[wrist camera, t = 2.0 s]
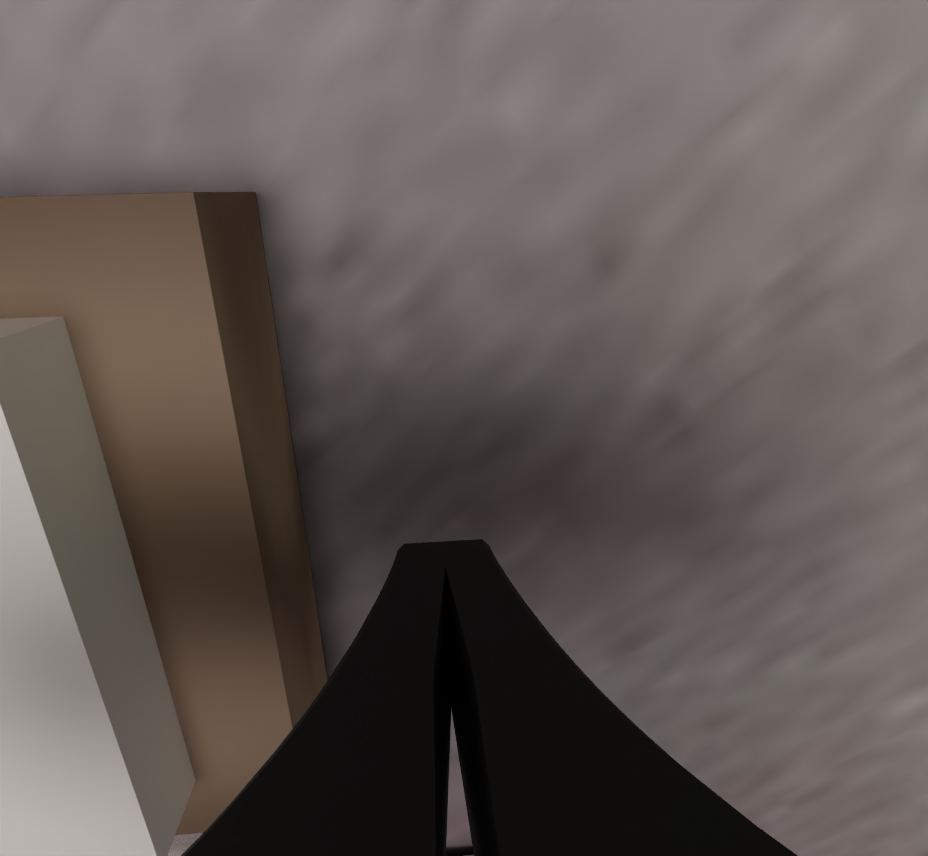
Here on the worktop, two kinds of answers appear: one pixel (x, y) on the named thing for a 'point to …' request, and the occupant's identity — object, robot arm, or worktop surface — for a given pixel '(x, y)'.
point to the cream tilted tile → (74, 630)
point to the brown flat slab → (188, 451)
